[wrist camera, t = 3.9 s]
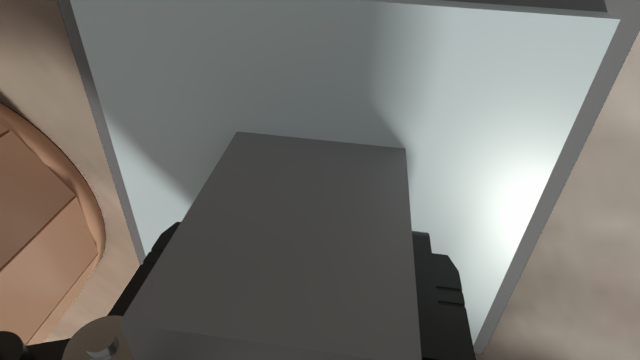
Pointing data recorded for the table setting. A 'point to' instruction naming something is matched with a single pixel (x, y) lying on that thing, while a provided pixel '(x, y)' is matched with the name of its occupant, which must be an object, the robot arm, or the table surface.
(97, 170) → the table surface
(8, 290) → the bowl
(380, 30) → the cover
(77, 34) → the mat
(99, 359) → the robot arm
